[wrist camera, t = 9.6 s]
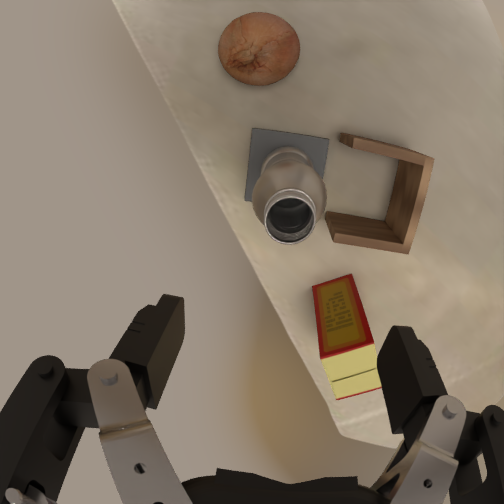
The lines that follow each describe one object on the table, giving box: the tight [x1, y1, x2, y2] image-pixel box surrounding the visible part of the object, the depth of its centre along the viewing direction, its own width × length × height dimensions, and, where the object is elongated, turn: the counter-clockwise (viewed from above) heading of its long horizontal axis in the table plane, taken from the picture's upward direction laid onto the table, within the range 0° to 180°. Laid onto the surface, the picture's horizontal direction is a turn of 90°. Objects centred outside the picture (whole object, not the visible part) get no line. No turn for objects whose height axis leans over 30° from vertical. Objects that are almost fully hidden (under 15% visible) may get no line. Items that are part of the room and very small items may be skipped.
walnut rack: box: [325, 133, 434, 254], centre depth 35 cm, size 12×10×8 cm
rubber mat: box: [245, 128, 329, 202], centre depth 39 cm, size 10×10×1 cm
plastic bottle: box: [252, 146, 327, 245], centre depth 30 cm, size 6×7×20 cm
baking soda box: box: [312, 274, 382, 400], centre depth 41 cm, size 10×6×16 cm
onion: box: [218, 12, 300, 86], centre depth 29 cm, size 10×9×10 cm
